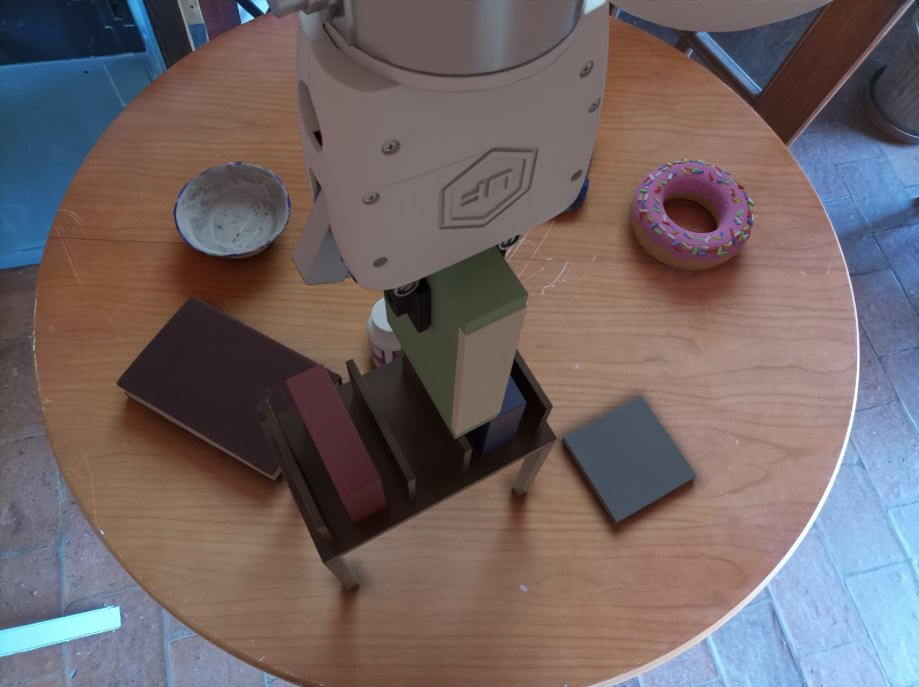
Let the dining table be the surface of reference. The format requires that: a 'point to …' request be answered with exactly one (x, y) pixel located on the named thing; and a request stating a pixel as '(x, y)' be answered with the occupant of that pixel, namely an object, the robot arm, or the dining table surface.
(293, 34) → the dining table surface
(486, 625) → the dining table surface
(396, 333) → the green book
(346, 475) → the burgundy book
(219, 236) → the bowl
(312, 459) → the rack
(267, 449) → the book
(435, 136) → the robot arm
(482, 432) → the navy book
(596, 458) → the mat
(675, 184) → the donut
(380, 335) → the pill bottle
